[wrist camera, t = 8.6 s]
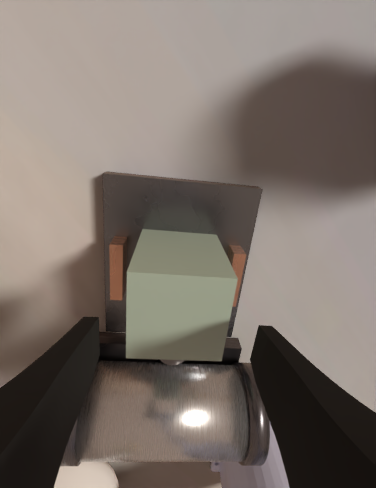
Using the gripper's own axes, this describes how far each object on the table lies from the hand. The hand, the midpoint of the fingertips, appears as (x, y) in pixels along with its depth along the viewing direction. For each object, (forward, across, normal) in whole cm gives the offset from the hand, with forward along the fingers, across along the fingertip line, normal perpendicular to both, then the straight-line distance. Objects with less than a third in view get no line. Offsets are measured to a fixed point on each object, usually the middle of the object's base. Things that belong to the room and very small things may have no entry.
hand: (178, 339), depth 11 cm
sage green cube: (+7, 0, 0) cm, 7 cm away
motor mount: (+8, 0, +4) cm, 9 cm away
